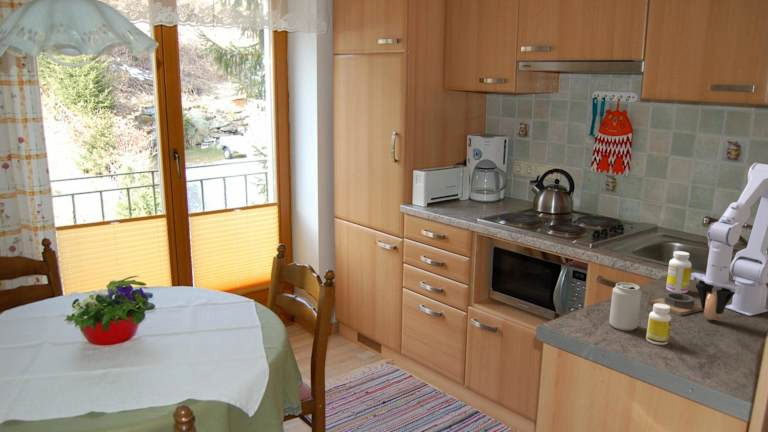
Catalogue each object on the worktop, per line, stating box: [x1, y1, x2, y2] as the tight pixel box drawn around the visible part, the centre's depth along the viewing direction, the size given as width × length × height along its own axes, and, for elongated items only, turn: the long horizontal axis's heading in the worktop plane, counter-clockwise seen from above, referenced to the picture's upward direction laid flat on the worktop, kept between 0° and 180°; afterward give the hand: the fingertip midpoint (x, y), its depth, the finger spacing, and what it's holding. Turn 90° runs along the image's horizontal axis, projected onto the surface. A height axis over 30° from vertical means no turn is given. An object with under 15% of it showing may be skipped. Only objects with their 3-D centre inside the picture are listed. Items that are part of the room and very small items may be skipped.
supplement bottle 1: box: [645, 303, 672, 346], centre depth 167 cm, size 5×5×10 cm
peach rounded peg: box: [703, 290, 720, 320], centre depth 183 cm, size 4×4×7 cm
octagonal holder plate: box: [648, 291, 704, 317], centre depth 194 cm, size 13×11×3 cm
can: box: [608, 281, 643, 332], centre depth 176 cm, size 8×8×12 cm
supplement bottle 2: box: [665, 250, 693, 294], centre depth 208 cm, size 7×7×13 cm
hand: (712, 310), depth 183 cm, fingers closed on peach rounded peg, 4 cm apart
